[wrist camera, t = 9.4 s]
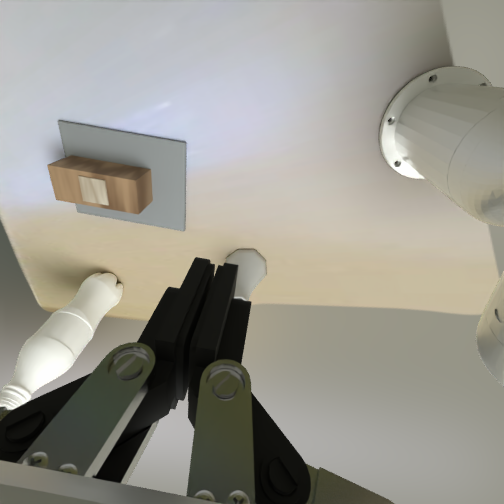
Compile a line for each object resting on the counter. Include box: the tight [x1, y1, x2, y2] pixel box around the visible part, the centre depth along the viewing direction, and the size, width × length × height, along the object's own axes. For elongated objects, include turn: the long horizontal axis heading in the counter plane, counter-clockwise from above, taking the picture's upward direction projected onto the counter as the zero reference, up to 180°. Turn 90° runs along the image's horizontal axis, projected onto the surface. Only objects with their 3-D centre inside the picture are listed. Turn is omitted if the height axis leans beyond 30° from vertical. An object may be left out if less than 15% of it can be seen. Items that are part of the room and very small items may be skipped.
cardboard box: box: [47, 155, 153, 215], centre depth 41 cm, size 5×5×12 cm
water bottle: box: [0, 273, 123, 410], centre depth 46 cm, size 7×7×25 cm
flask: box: [226, 249, 267, 301], centre depth 46 cm, size 7×7×10 cm
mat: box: [58, 121, 186, 231], centre depth 44 cm, size 18×14×1 cm
